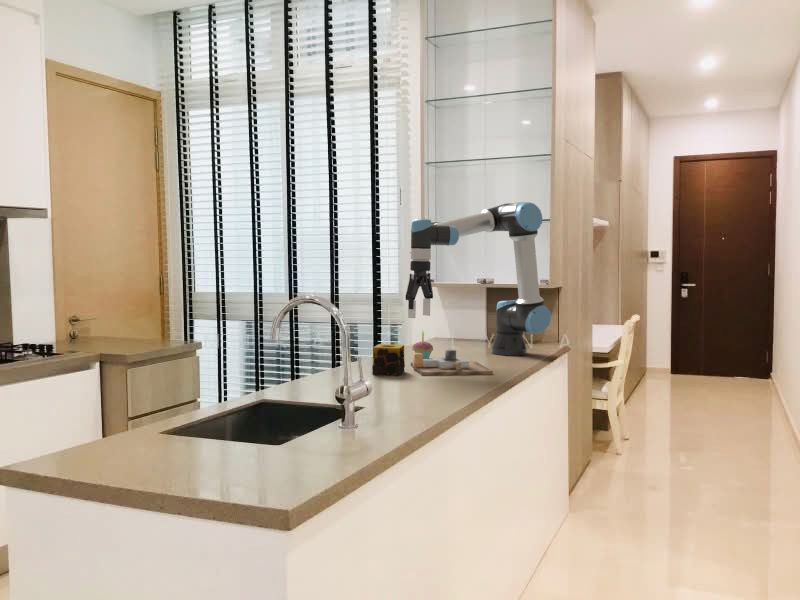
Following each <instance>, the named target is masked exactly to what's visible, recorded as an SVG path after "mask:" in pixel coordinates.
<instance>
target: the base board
mask: <svg viewBox="0 0 800 600" xmlns="http://www.w3.org/2000/svg"><path fill="white" fill-rule="evenodd" d="M444 354H445V355H444V357H445V361H456V357H457V350H454V349H446V350H445V351H444ZM410 367H412V369H414V370H415V371H417V373H418V374H420V375H421V376H423V375H425V376H426V375H429V376H478V375H479V376H480V375H481V376H482V375H484V376H485V375H486V376H487V375H490V376H491V375H494V371H493V370H491V369H490V368H488V367H486V366H485V365H483V364H481V363H480V362H478V361H469V368H462V371H456V369H439V368H438V367H413V361H412V362H410Z"/></svg>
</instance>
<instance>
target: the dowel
mask: <svg viewBox="0 0 800 600" xmlns="http://www.w3.org/2000/svg"><path fill="white" fill-rule="evenodd" d="M456 371H462V362H456Z"/></svg>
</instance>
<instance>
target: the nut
mask: <svg viewBox="0 0 800 600" xmlns="http://www.w3.org/2000/svg"><path fill="white" fill-rule="evenodd" d="M412 362H413V367H438V368H439V369H456V362H462V368H469V362H470V361H468V360H467V359H465V358H464V357H462V356H458V357H457V356H456V361H445V356H444V357H443V356H442V357H441V356H440V357H436V356H434V357H432V358H429V359H423V354H422V353H415V352H414V353H412ZM413 367H412V368H413Z"/></svg>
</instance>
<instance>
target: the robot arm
mask: <svg viewBox="0 0 800 600" xmlns="http://www.w3.org/2000/svg"><path fill="white" fill-rule="evenodd" d="M541 211H542V210H541V209H540V208H539V206H537V205H536V203H533V202H527V201H520V202H513V203H511V202H510V203H509V202H508V203H503V204H500V205H497V206H494V207H489V208H487V209H486V208H485V209H483V210H482V211H481V212H479V213H475V214H471V215H467V216H464V217H463V216H462V217H459V218H453V219H450V220H446V221H441V222H436V223H434V224H432V220H431V219H427V218H426V219H425V218H417V219H416V218H414V219H413V220H412V221H411V226H410V227H411V228H410V251H409V253H410V259H411V261H410V271H412V272H413V273H410V274H409V280H408V284H407V288H406V292H405V300H406V301H408V303H407V304H408V306H407V307H408V309H407V318H409V319H416V316H417V315H416V313H417V307H416V306H417V300H416V297H417V294H418V291H419V289H421V291H422V294H423V296H424V297H423V299H422V300H423V302H422V316H429V317H430V316H431V299H434V293H433V292H434V291H433V285H432V281H431V273H430V271H431V257H432V254H431V253H432V252H431V251H432V250H431V249H432V248H431V247H432V246H447V247H449V246H454V245H455V246H456V244H457V243H458V241H459V239H460V238H461V237H465V236H469V235H473V234H478V233H482V232H485V233H492V232H508V237H509V238H510V239H511V240H512V241H513V250H514V251H513V252H514V263H515V271H516V273H515V274H516V282H517V294H518V298H517V299H513V300H512V299H511V300H500V301H498V302H497V303H496V308H495V314H496V315H495V323H496V324H495V337H494V340H493V343H492V346H491V354H493V355H494V354H495V355H499V356H524V355H525V356H526V355H527V345H526V342H525V338H524V332H525V333H528V334H541V333H542V332H544V331H546V330H547V329H548V327H549V325H550V323H551V320H552V314H551V311H550V309H549V308H548V307H547V306H545V300H544V298H543V297H541V295H540V284H539V276H538V274H539V273H538V264H537V253H536V242H535V241H536V240H535V239H536V237H537V236H538V234H539V233H538V232H539V231H538V230H539V229H540V228H541V225H543V213H542V212H541Z"/></svg>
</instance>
